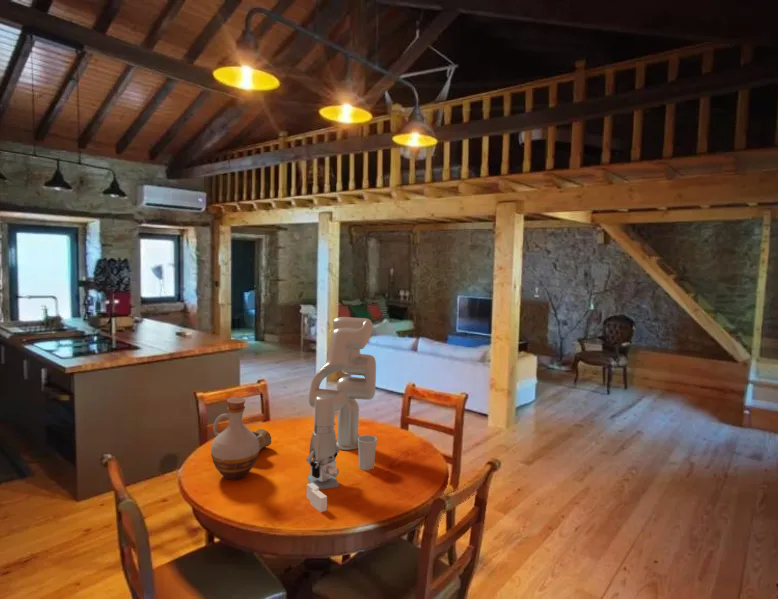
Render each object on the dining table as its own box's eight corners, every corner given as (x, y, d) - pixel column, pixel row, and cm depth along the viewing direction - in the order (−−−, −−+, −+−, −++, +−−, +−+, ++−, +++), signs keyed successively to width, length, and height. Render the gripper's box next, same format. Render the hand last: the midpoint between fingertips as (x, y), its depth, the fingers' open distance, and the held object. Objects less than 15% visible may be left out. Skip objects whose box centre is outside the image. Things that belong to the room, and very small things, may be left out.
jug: (196, 479, 180) (196, 401, 178) (228, 461, 197) (229, 389, 194) (238, 490, 173) (239, 409, 170) (268, 470, 190) (269, 396, 187)
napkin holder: (331, 516, 159) (331, 499, 159) (297, 515, 159) (297, 498, 158) (335, 493, 174) (335, 478, 174) (304, 493, 174) (304, 478, 173)
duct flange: (332, 475, 188) (333, 450, 187) (338, 487, 178) (339, 461, 177) (307, 478, 184) (307, 453, 184) (311, 490, 175) (312, 464, 174)
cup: (380, 467, 197) (381, 438, 196) (366, 473, 191) (367, 443, 190) (366, 461, 202) (367, 433, 201) (352, 466, 196) (353, 438, 195)
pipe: (273, 447, 213) (273, 425, 212) (257, 462, 197) (257, 439, 196) (254, 445, 214) (254, 423, 213) (236, 460, 198) (236, 436, 197)
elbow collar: (310, 475, 181) (310, 460, 180) (323, 470, 186) (324, 455, 185) (328, 485, 174) (329, 469, 174) (342, 479, 179) (342, 463, 179)
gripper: (334, 420, 189) (333, 463, 190) (299, 431, 175) (298, 477, 177) (347, 425, 184) (346, 469, 185) (312, 436, 171) (311, 484, 172)
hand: (322, 473), depth 181 cm, fingers closed on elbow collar, 6 cm apart
